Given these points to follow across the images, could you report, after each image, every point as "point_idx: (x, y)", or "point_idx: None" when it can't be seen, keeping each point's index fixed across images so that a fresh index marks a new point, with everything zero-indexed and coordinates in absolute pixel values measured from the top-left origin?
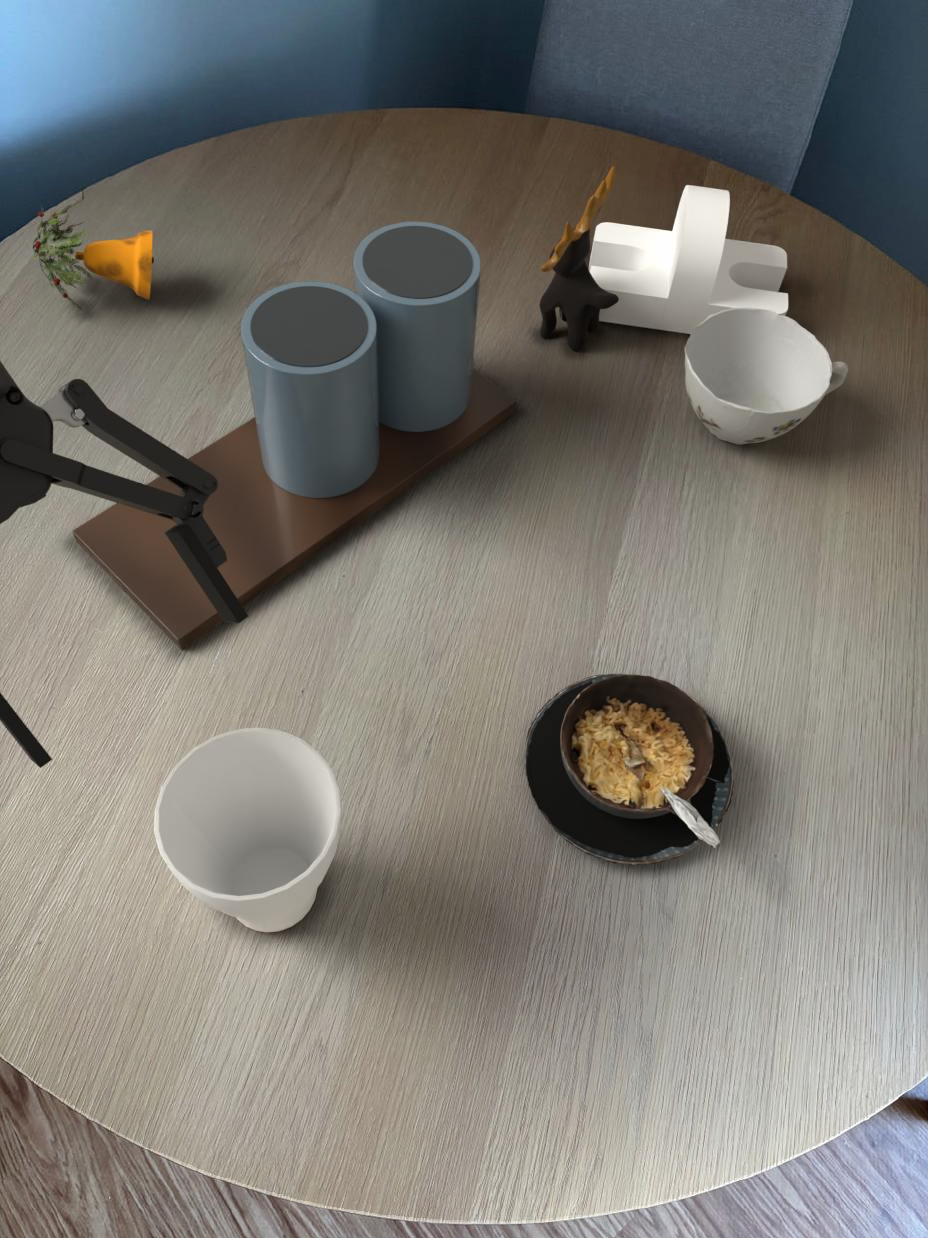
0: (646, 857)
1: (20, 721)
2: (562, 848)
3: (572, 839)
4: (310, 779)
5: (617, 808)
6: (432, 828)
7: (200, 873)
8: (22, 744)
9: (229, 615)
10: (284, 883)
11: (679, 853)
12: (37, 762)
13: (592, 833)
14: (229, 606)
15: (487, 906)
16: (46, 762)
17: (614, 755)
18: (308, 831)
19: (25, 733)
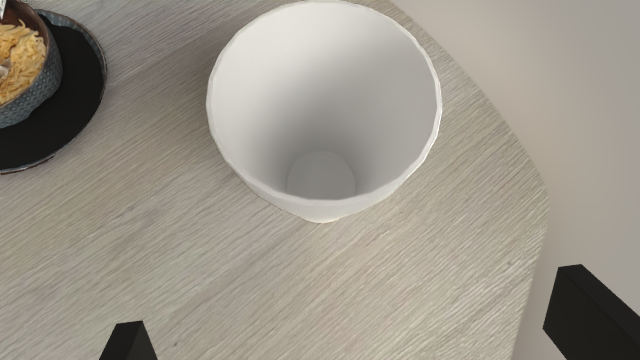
0: (72, 26)
1: (633, 337)
2: (115, 77)
3: (102, 67)
4: (236, 141)
5: (43, 23)
6: (181, 148)
7: (382, 169)
8: (622, 302)
9: (143, 353)
10: (310, 179)
11: (51, 12)
12: (587, 272)
13: (86, 63)
14: (124, 354)
15: (194, 77)
16: (570, 266)
17: (7, 83)
18: (270, 163)
19: (617, 316)
